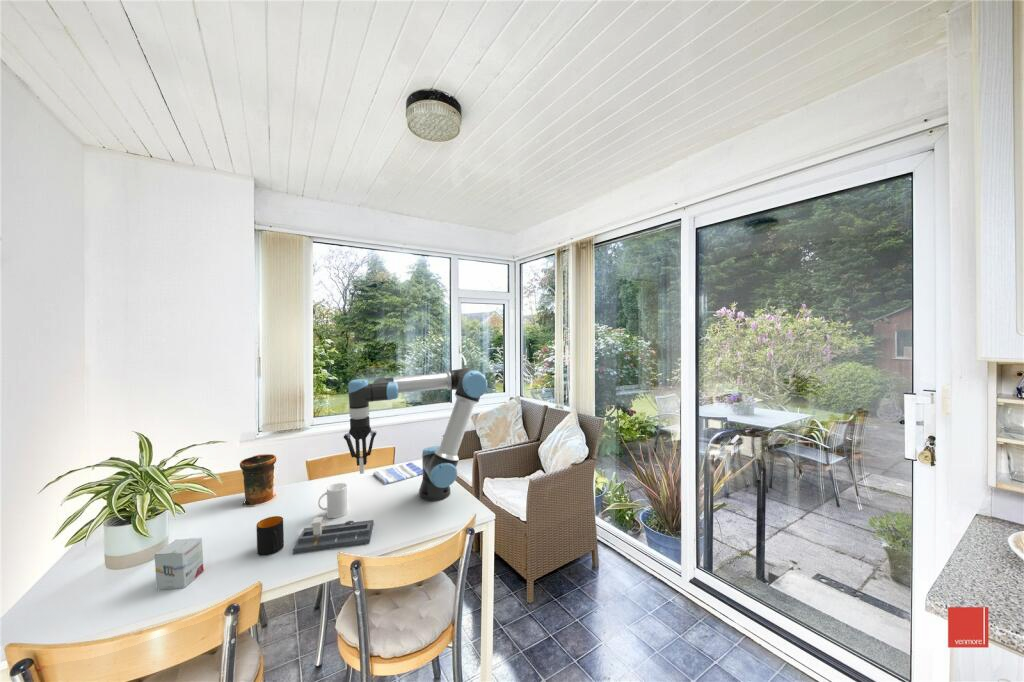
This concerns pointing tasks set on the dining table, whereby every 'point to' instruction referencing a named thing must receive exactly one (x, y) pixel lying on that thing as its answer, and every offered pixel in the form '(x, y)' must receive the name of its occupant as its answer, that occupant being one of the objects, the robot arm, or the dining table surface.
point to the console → (335, 537)
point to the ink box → (178, 563)
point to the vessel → (258, 479)
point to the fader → (317, 526)
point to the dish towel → (398, 473)
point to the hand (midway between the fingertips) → (362, 472)
